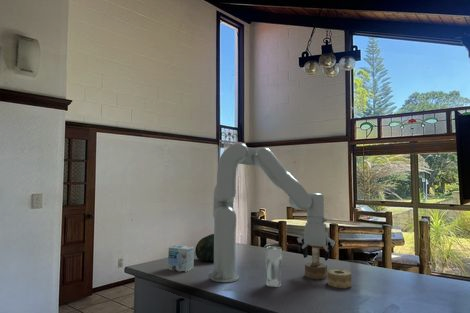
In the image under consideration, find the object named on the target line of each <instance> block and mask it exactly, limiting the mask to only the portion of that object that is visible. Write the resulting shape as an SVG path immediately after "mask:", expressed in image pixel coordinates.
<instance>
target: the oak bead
mask: <svg viewBox="0 0 470 313" xmlns="http://www.w3.org/2000/svg"><path fill="white" fill-rule="evenodd" d="M327 284H328V286H330V287H332V288H337V289H338V288H339V289H347V288H350V287H352V273H351V271H348V270H345V269H338V268H337V269H335V268H332V269H329V270H328V269H327Z"/></svg>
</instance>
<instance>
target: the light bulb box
mask: <svg viewBox="0 0 470 313" xmlns="http://www.w3.org/2000/svg"><path fill="white" fill-rule="evenodd" d="M194 255H195V247H194V246H190V245H189V246H188V245H179V244H174V245H173V246H169V247H168V255H167V257H168V258H167V270H168V269H169V270H168V271H174V270H177V271H176V272H181V271H185V272H184V273H188V272H190V271H192V270H191V269H193V268H194V260H195V256H194ZM189 270H190V271H189ZM193 270H194V269H193ZM187 271H188V272H187Z"/></svg>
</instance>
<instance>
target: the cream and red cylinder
mask: <svg viewBox="0 0 470 313" xmlns="http://www.w3.org/2000/svg"><path fill="white" fill-rule="evenodd" d="M311 263H312V266H319V263H320V246H311Z"/></svg>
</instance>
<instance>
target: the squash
mask: <svg viewBox="0 0 470 313" xmlns="http://www.w3.org/2000/svg"><path fill="white" fill-rule="evenodd" d="M194 254H195V256H196V258H197V259H198V260H200V261H201V262H204V261H211V262H214V233H211V234H209V235H206V236H204V237H202V238H200V239H199V240H198V242H197V244H196V246H195V248H194Z"/></svg>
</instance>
